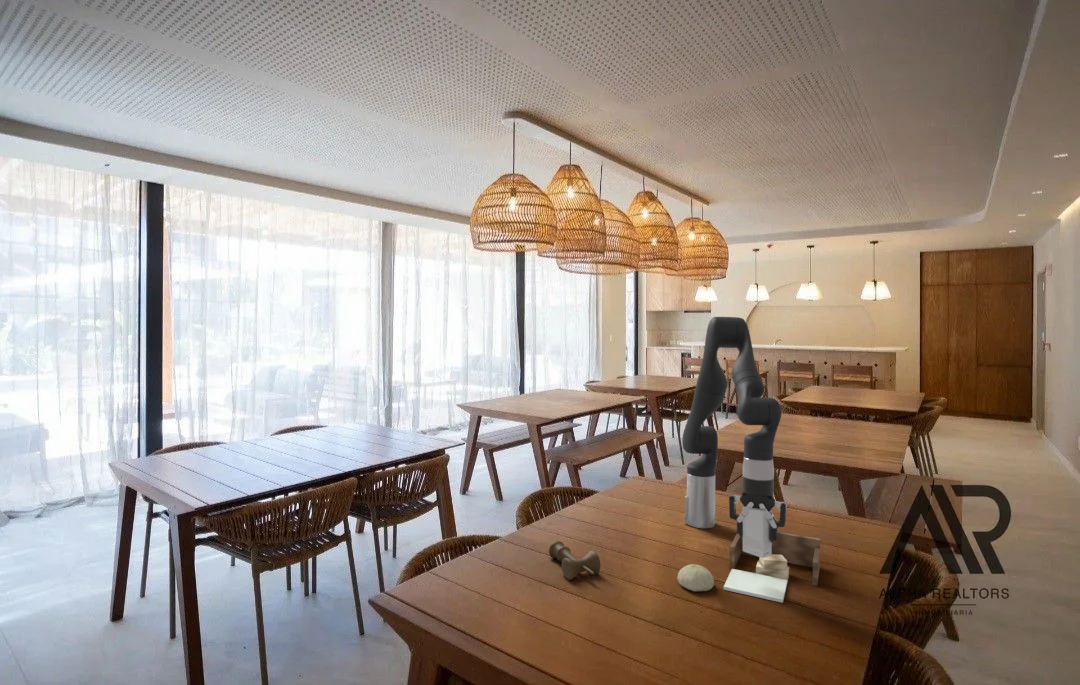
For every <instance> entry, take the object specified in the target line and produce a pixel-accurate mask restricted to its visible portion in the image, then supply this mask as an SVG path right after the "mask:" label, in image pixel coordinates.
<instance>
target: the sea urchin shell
mask: <svg viewBox="0 0 1080 685" xmlns="http://www.w3.org/2000/svg"><path fill="white" fill-rule="evenodd" d="M677 581H678V584H679V585H680V586H681V587H683V588H686V589H687V590H689V591H692V592H707V591H710V590H712V588H713V587H714V585H715V584H714V582H715V578H714V576H713V575H712V573H711V571H710V570H708V569H707V568H706V567H704V566H703V565H700V564H696V563H695V564H693V563H691V564H687V565H684V567H682V568H680V570H679V571H678V573H677Z"/></svg>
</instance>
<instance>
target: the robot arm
mask: <svg viewBox="0 0 1080 685" xmlns="http://www.w3.org/2000/svg"><path fill="white" fill-rule="evenodd" d="M752 344H753V343H752V339H751V334H750V330H749V327H748V324H747V322H746V320H744V318H741V317H736V316H714V317H711V319H710V320H709V322H708V325H707V328H706V334H705V342H704V348H703V354H702V355H703V356H702V360H701V366H700V368H699V374H698V375H697V376H698V377H697V380H696V384H695V388H694V389H695V390H694V394H693V400H692V405H691V408H690V412H689V415H688V417H687V420H686V423H685V426H684V430H683V434H682V440H681V441H682V443H681V444H682V448H683V450H684V452H685V453H687V454H691V455H701V456H700V457H699V458H697V459H696V460H694V461H691V462H689V463H688V464H687V467H686V495H685V497H684V525H688V526H690V527H693V528H697V529H710V528H714V527H715V520H716V518H715V517H716V514H715V513H716V470H717V463H718V462H717V460H718V448H719V447H718V446H719V438H718V433H717V430H716V428H715V427H714V426H711V425H703V424H704V423H705V421H706V420H707V419H708V418H709V417H710V416H711V415H712V414H714V413H715V412H716V411H717V410H718V409H719V407H721V405H722V404H723V402H724V400H725V398H726V397H725V396H726V393H727V389H728V380H727V376H726V375H725V373H724V370H723V368H722V366H721V365H720V362H719V359H718V351H719V349H723V348H725V349H726V348H727V349H737V350H738V356H736V359H735V360H734V363H733V365H732V367H731V368H732V369H731V378H732V382H733V385H734V387H735V390H736V395H737V412H736V413H737V418H738V420H739V421H740V422H741V423H742V424H743V425H746V426H761V428H760V430H758V431H756V432H753V433H749V434H747V435H745V436H744V440H743V461H742V475H741V476H742V480H741V482H742V484H741V485H742V486H741V495H736V494H734V493H731V494H730V495H729V498H728V503H729V511H728V512H729V518H730V519H732V520H734V521H736V534H737V533H738V534H739V536H740V537H743V523H742V520H743V519H744V517H745V516H746V515H747V513H748V512H749V511H750V509H751V508H759V509H761V510H766V518H767V520H768V521H769V522H770V524H771V542H773V543H774V540H775V541H776V539H777V532H778V528H784V527H785V525H786V520H787V505H788V504H787V502H786V501H784V500H783V501H778V500H775V498H774V487H775V486H774V485H775V484H774V483H775V482H774V480H775V479H774V478H775V477H774V476H775V467H774V442H775V438H776V434H777V431H778V427H779V425H780V423H781V419H782V406H781V404H780V402H779V401H778V400H777V399H776V398H773V397H762V396H763V395H764V394H765V391H766V390H765V384H764V382H763V380H762V377H761V375H760V373H759V370H758V368H757V365H756V360H755V355H754V348H753V345H752ZM739 501H740V503H741V504H742V506H744V507H745V509H744V510H743V511H742V510H741V512H740V513H739V514H737V504H738V503H739ZM774 507H776V509H777V511H779V512H780V513H779V519H778V520H777V519H776V517H775V515H774V513H773V511H772V509H773V508H774ZM747 509H748V510H747ZM770 510H771V515H770V513H769V511H770Z"/></svg>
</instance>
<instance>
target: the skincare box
mask: <svg viewBox="0 0 1080 685" xmlns="http://www.w3.org/2000/svg"><path fill="white" fill-rule="evenodd" d="M744 509H745V507H744V505H742V506H741V512H742V511H743V510H744ZM747 510H748V509H747ZM771 511H772V509H771V510H770V511H769V513H770V515H771ZM742 523H743V551H744V552H747V553H750V554H753V555H756V556H759V557H762V558H766V557H768V556H770V555H771V554H772V549H771V524H770V522H769V521H768V520H767V518H766V510H761V509H759V508H751V509H750V511H749V512H748V513H747V515H746V516H745V517H744V519H743V520H742ZM756 556H755V557H756ZM759 557H758V558H759Z"/></svg>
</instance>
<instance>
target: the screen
mask: <svg viewBox="0 0 1080 685" xmlns="http://www.w3.org/2000/svg"><path fill="white" fill-rule="evenodd" d="M771 549H772V554H775V555H783V557H784V558H785V559H786V560H787V564H794V565H798V566H799V565H800V566H804V567H808V568H812V586H816V587H817V586H818V585H819V578H820V577H819V576H820V575H819V574H820V569H821V568H820V567H821V538H818V537H812V536H806V535H802V534H801V535H799V534H793V533H788V532H782V531H777V539H776V541H775V540H774V543H773V542H771ZM741 555H747V556H751V557H757V558H759V556H756V555H753V554H750V553H747V552H744V551H743V537H740V536H739V534H738V533H737V532H736V534H735V536H734V538H733V540H732V542H731V543H730V545H729V569H731V570H732V569H735V568H736V566H737V563H738V561H739V559H740V558H741Z"/></svg>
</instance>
